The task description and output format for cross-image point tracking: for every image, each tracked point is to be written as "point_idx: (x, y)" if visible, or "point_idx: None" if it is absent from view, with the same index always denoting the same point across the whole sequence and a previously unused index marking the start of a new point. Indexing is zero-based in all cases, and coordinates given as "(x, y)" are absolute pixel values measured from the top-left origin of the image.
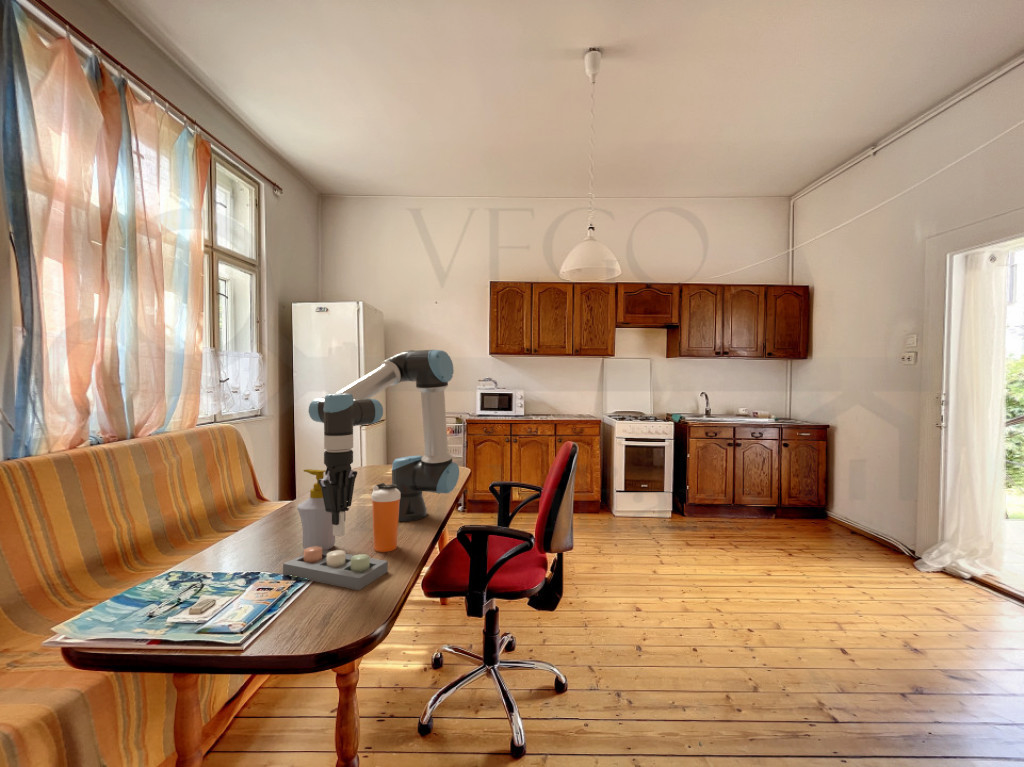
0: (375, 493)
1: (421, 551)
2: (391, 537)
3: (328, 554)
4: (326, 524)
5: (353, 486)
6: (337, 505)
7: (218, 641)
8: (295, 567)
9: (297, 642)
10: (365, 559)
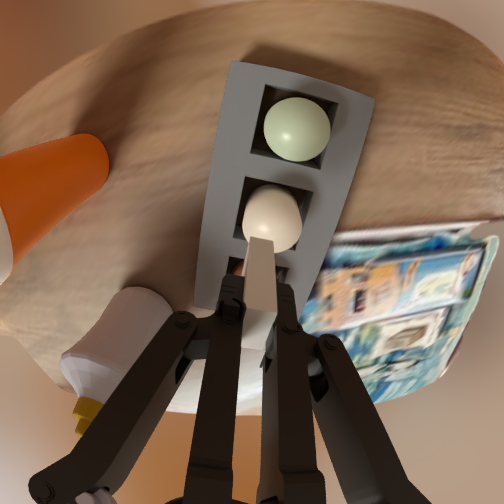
0: None
1: (83, 59)
2: (73, 142)
3: (284, 245)
4: (134, 336)
5: (104, 413)
6: (306, 360)
7: (493, 259)
8: (307, 295)
9: None
10: (310, 104)
